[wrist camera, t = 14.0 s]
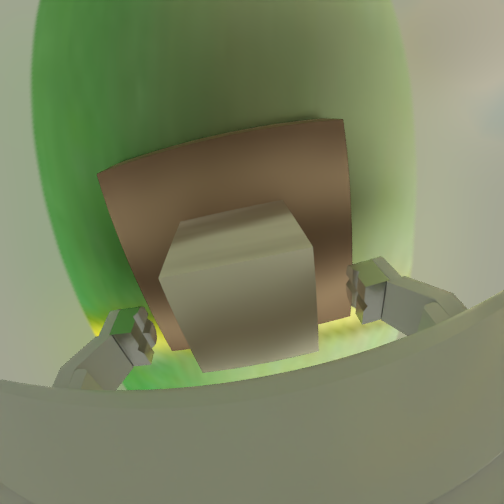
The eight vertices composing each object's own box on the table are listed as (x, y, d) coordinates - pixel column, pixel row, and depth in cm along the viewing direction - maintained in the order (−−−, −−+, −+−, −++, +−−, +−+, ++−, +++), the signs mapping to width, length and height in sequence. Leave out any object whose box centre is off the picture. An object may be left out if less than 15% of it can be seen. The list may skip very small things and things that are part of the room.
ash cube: (180, 221, 13) (158, 278, 8) (282, 199, 13) (313, 246, 8) (206, 302, 15) (202, 372, 11) (294, 285, 15) (318, 351, 11)
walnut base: (118, 163, 14) (96, 173, 11) (322, 118, 14) (343, 119, 11) (177, 321, 19) (172, 350, 17) (335, 290, 19) (350, 315, 17)
